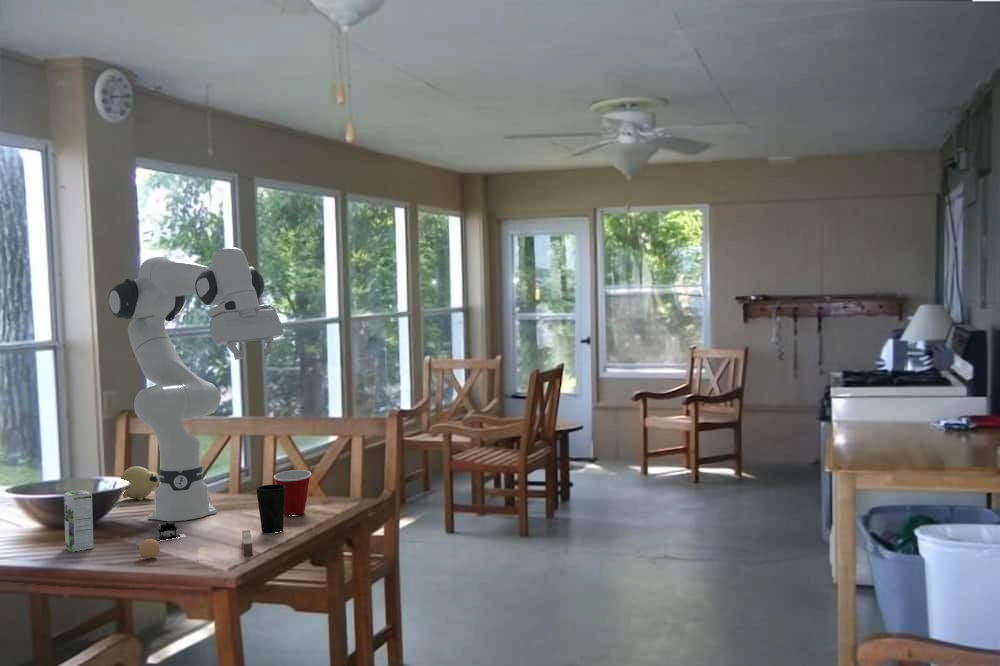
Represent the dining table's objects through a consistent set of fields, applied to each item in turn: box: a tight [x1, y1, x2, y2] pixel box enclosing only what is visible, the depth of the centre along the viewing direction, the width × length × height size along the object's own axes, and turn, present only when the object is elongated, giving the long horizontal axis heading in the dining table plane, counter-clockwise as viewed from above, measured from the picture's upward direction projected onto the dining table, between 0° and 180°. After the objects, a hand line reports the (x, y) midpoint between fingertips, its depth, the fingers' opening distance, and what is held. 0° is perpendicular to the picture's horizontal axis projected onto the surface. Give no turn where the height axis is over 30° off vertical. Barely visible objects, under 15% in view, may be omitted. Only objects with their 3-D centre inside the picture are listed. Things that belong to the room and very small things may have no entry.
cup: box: [256, 483, 286, 534], centre depth 252 cm, size 8×8×12 cm
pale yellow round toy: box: [120, 465, 161, 501], centre depth 299 cm, size 10×12×11 cm
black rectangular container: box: [151, 521, 180, 542], centre depth 248 cm, size 12×7×5 cm, turn 119°
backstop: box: [241, 529, 253, 557], centre depth 235 cm, size 14×2×3 cm, turn 17°
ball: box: [138, 539, 161, 560], centre depth 229 cm, size 5×5×5 cm
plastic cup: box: [273, 469, 312, 517], centre depth 271 cm, size 11×11×12 cm
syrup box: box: [63, 489, 95, 553], centre depth 239 cm, size 6×6×14 cm
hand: (254, 357), depth 243 cm, fingers open, 8 cm apart
